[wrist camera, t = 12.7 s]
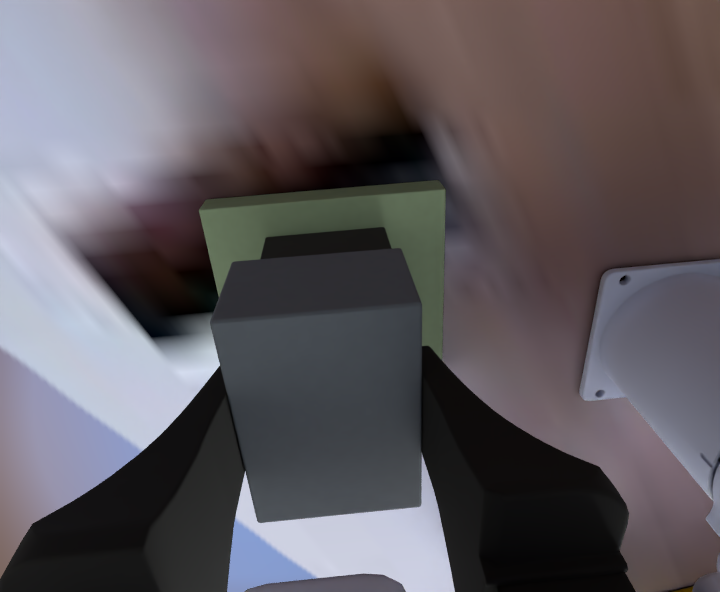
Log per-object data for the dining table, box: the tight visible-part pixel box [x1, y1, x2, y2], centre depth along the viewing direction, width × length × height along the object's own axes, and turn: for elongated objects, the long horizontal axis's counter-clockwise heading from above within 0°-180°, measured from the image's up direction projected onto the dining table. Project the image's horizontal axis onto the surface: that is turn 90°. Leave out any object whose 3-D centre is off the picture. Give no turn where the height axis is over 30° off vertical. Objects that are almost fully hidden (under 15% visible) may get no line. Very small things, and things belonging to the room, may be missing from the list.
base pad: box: [199, 180, 446, 360], centre depth 23 cm, size 10×10×1 cm
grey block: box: [210, 248, 422, 523], centre depth 15 cm, size 5×7×3 cm
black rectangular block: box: [260, 227, 392, 259], centre depth 21 cm, size 5×7×3 cm
